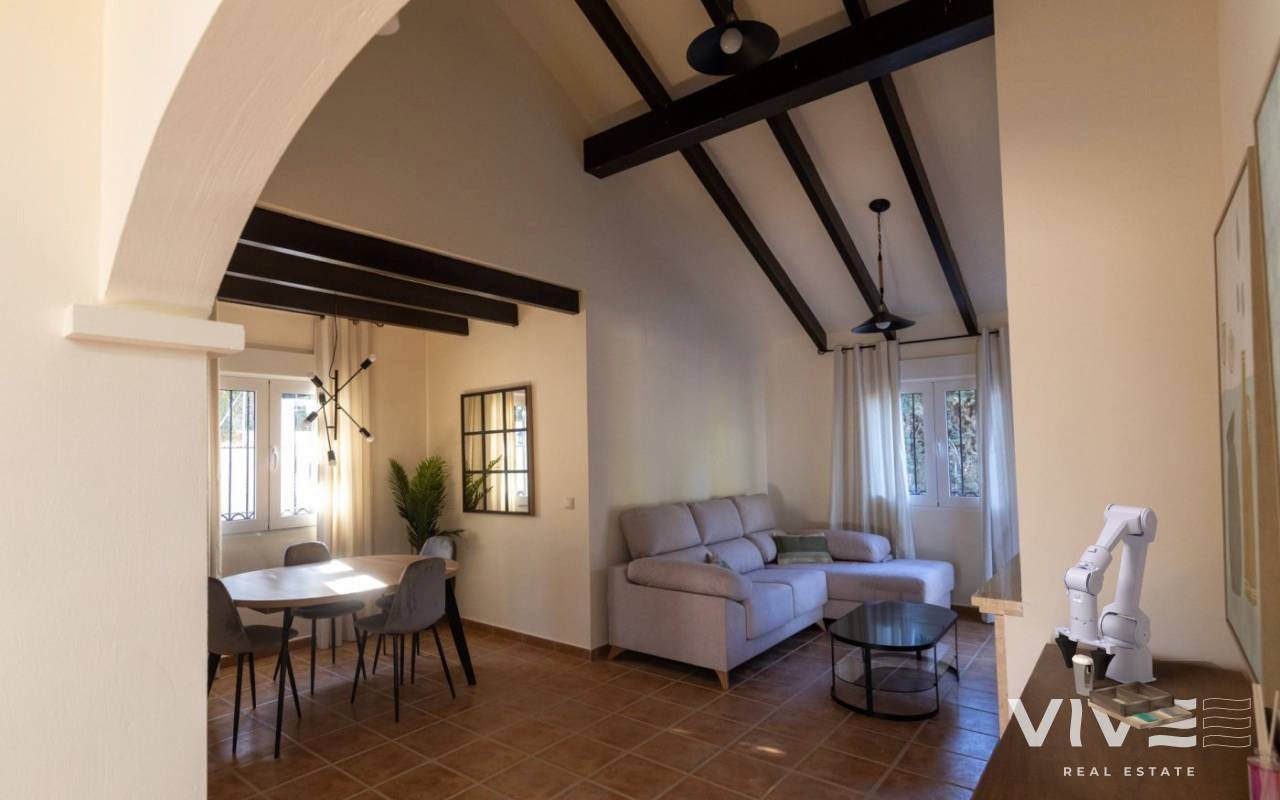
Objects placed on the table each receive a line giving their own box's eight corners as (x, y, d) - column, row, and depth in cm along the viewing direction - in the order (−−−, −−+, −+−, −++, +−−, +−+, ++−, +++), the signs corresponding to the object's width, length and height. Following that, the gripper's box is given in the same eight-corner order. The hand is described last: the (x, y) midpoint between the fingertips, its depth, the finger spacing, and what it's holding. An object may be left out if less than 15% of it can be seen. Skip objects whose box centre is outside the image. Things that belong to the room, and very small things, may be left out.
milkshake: (1102, 698, 158) (1101, 656, 158) (1078, 696, 159) (1076, 655, 159) (1093, 690, 163) (1092, 649, 163) (1069, 688, 164) (1068, 648, 164)
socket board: (1138, 695, 159) (1137, 680, 159) (1192, 717, 148) (1192, 701, 148) (1088, 705, 155) (1087, 690, 155) (1140, 729, 143) (1139, 713, 143)
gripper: (1044, 610, 167) (1046, 664, 167) (1099, 629, 153) (1101, 687, 153) (1066, 607, 169) (1067, 660, 169) (1122, 625, 155) (1123, 683, 155)
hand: (1085, 673), depth 161 cm, fingers open, 7 cm apart
